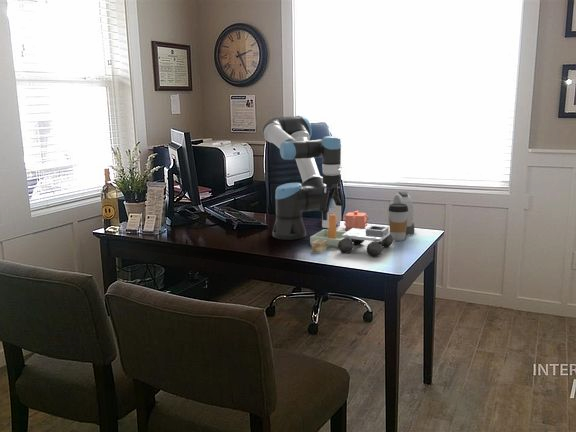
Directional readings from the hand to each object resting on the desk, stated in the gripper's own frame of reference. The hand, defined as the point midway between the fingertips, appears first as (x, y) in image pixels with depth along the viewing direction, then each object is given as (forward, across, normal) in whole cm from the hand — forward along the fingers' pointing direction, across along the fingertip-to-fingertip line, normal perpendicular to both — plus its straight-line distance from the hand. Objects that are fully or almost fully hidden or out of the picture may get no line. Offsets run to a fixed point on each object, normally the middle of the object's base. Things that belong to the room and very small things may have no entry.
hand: (331, 223), depth 232 cm
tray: (+8, 0, 0) cm, 8 cm away
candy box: (+8, +33, +14) cm, 37 cm away
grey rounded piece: (+8, +30, -22) cm, 38 cm away
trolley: (+8, -5, -17) cm, 19 cm away
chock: (+8, -13, 0) cm, 16 cm away
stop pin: (+7, 0, 0) cm, 7 cm away
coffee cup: (+8, +16, -24) cm, 30 cm away
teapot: (+8, +26, -1) cm, 27 cm away
